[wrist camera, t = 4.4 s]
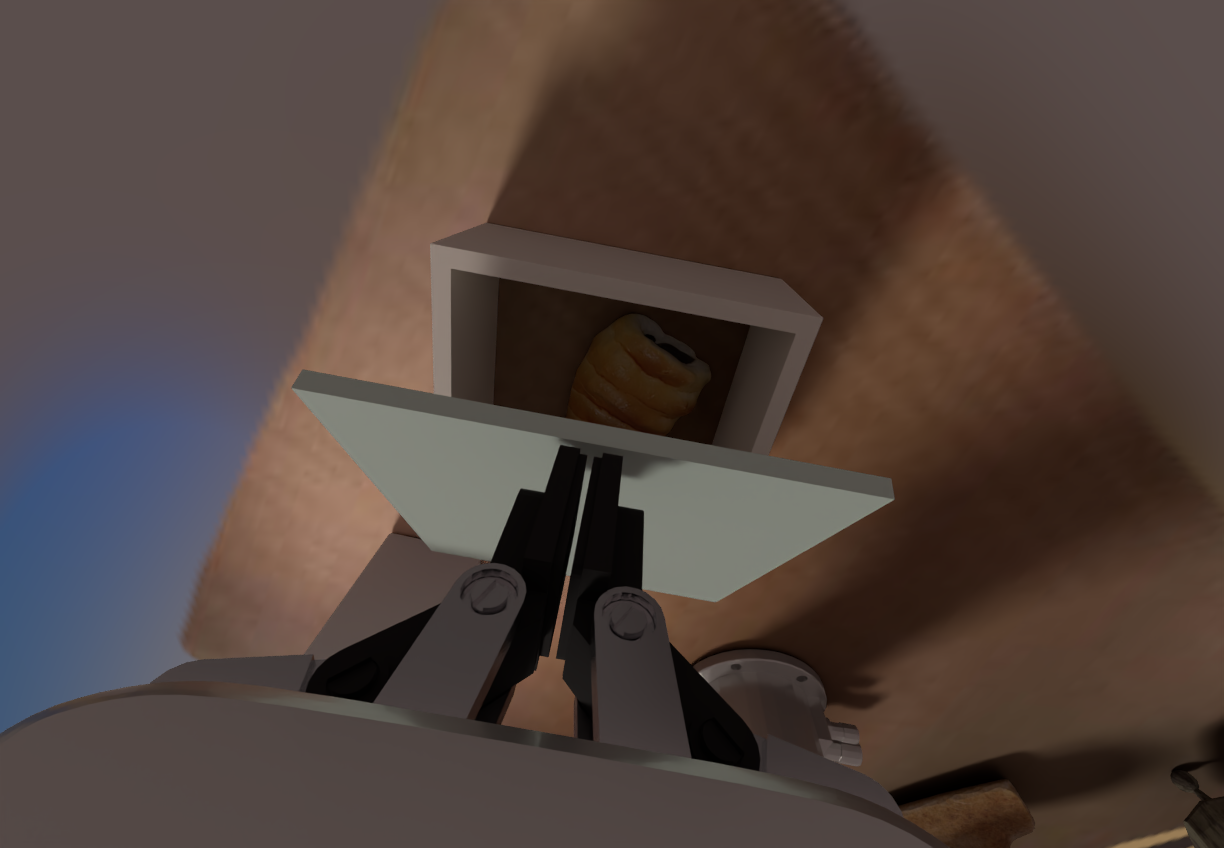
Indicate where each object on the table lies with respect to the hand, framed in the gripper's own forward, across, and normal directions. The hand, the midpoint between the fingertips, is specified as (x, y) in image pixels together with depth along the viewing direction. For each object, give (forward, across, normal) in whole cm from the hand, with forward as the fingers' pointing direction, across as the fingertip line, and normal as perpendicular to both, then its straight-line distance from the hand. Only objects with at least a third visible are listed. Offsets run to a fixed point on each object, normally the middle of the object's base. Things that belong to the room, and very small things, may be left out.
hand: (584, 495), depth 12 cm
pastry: (+16, -2, +4) cm, 17 cm away
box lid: (+5, 0, +5) cm, 7 cm away
